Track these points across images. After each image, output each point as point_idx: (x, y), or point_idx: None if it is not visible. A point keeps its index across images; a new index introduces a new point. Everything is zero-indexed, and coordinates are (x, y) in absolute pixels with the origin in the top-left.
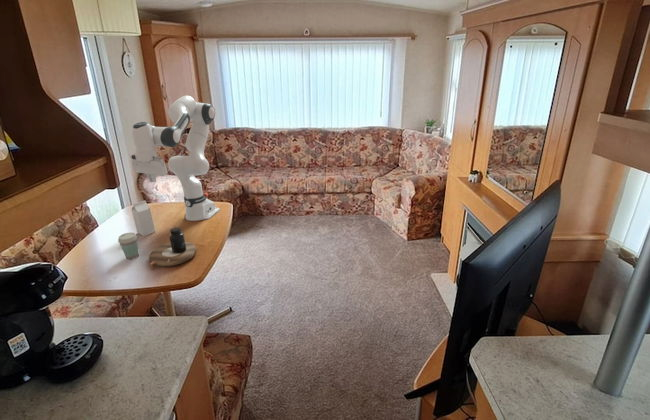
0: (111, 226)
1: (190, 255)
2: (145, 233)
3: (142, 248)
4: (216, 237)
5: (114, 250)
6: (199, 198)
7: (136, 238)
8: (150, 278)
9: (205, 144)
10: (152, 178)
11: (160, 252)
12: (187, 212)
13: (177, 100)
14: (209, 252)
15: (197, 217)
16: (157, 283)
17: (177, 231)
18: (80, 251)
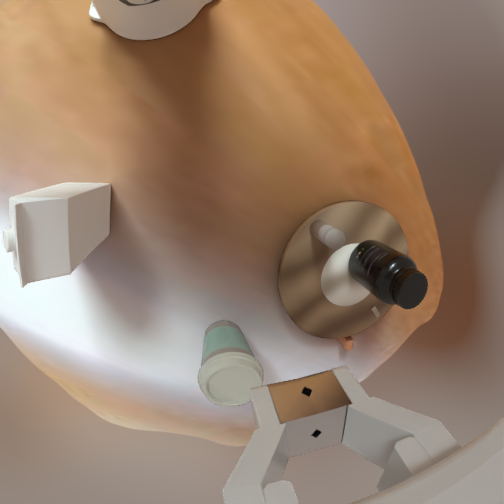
0: None
1: None
2: (107, 227)
3: (198, 291)
4: (370, 103)
5: (132, 343)
6: None
7: (256, 361)
8: (360, 355)
9: None
10: (366, 450)
11: (319, 300)
12: (135, 20)
13: None
14: (412, 195)
15: (187, 14)
16: (386, 353)
17: (423, 292)
18: (68, 383)
